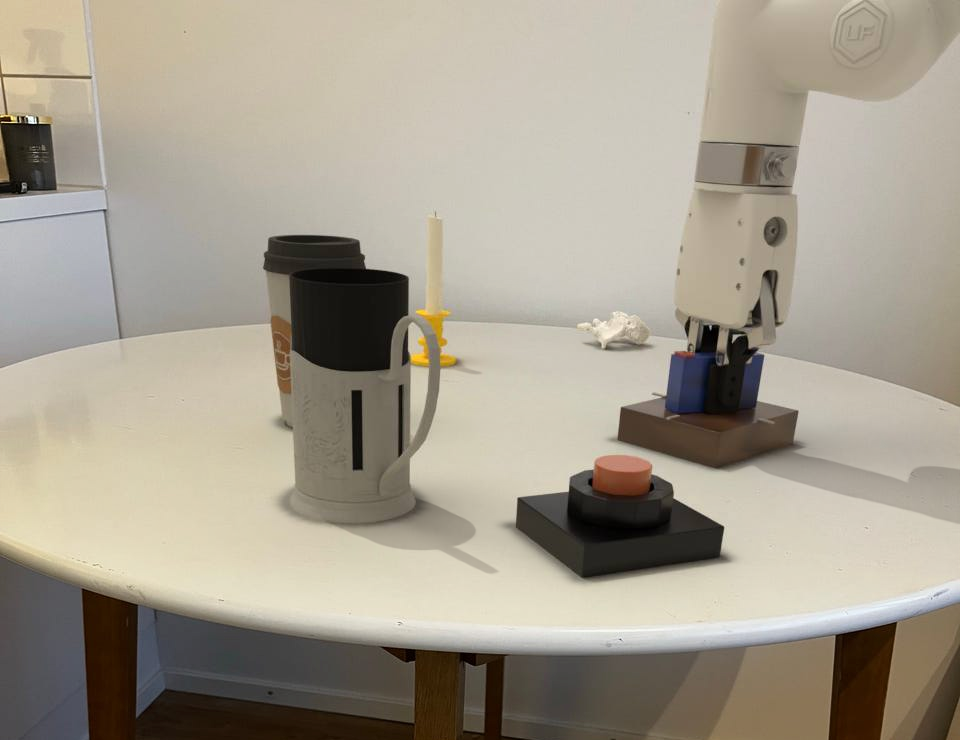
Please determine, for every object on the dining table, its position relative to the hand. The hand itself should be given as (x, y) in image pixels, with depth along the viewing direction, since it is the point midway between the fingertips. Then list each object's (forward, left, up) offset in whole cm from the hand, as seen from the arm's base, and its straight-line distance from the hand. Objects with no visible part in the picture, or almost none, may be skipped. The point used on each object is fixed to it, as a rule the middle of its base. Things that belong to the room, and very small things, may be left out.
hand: (711, 406), depth 86 cm
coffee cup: (+30, -15, -3) cm, 34 cm away
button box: (+20, +18, -3) cm, 27 cm away
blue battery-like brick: (0, 0, 0) cm, 0 cm away
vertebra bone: (-15, -40, -3) cm, 43 cm away
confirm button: (+20, +18, 0) cm, 27 cm away
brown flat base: (0, 0, -3) cm, 3 cm away
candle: (+11, -36, -3) cm, 38 cm away
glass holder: (+33, +8, -3) cm, 34 cm away
